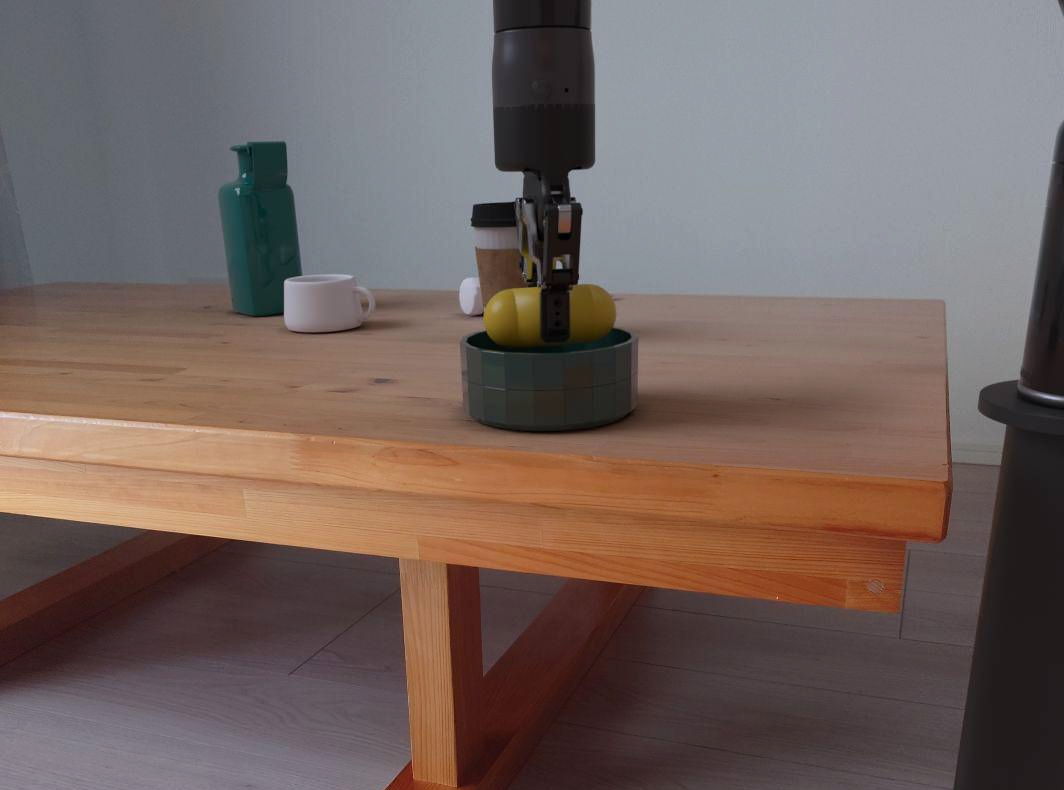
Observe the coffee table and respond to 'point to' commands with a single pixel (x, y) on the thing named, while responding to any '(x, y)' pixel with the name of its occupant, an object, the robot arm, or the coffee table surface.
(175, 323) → the coffee table surface
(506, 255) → the coffee cup
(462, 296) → the unicorn horn
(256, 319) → the coffee table surface
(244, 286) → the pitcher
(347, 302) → the mug
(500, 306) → the capsule
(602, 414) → the teal round dish
